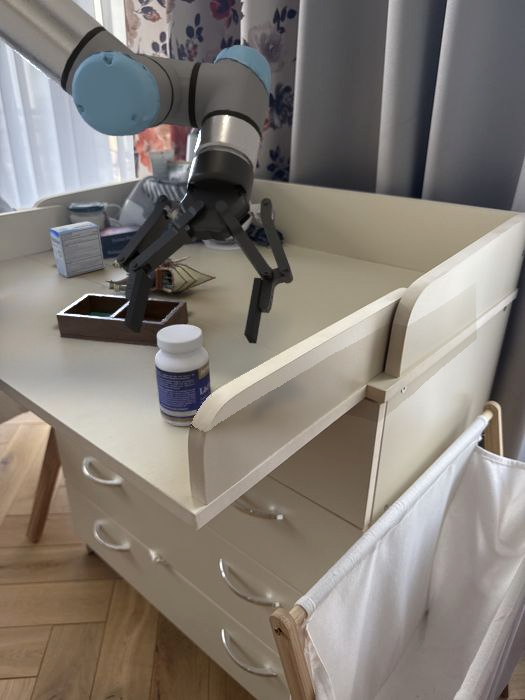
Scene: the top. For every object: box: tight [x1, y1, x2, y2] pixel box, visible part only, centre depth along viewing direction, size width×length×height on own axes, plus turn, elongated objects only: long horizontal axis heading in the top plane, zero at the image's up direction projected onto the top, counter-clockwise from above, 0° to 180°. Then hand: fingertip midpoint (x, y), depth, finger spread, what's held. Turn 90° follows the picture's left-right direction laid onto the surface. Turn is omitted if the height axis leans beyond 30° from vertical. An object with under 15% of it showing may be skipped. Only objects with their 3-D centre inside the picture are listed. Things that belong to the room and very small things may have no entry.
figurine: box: [104, 254, 217, 294], centre depth 94 cm, size 20×6×17 cm
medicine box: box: [49, 221, 106, 278], centre depth 103 cm, size 8×4×9 cm, turn 133°
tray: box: [55, 293, 189, 347], centre depth 80 cm, size 9×16×4 cm, turn 76°
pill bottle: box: [154, 324, 212, 427], centre depth 58 cm, size 6×6×10 cm
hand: (189, 334), depth 59 cm, fingers open, 13 cm apart
